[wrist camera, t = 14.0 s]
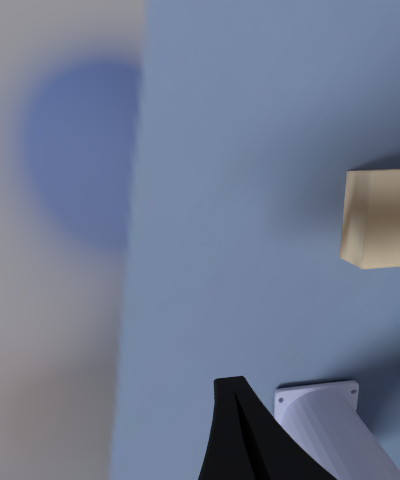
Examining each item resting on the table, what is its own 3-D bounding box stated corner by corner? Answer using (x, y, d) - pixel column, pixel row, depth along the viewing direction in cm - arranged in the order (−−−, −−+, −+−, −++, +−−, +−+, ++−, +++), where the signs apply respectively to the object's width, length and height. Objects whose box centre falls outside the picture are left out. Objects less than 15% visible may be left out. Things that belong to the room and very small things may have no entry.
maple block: (416, 251, 23) (450, 262, 21) (338, 256, 23) (362, 269, 20) (430, 167, 22) (469, 166, 19) (346, 171, 21) (372, 171, 18)
